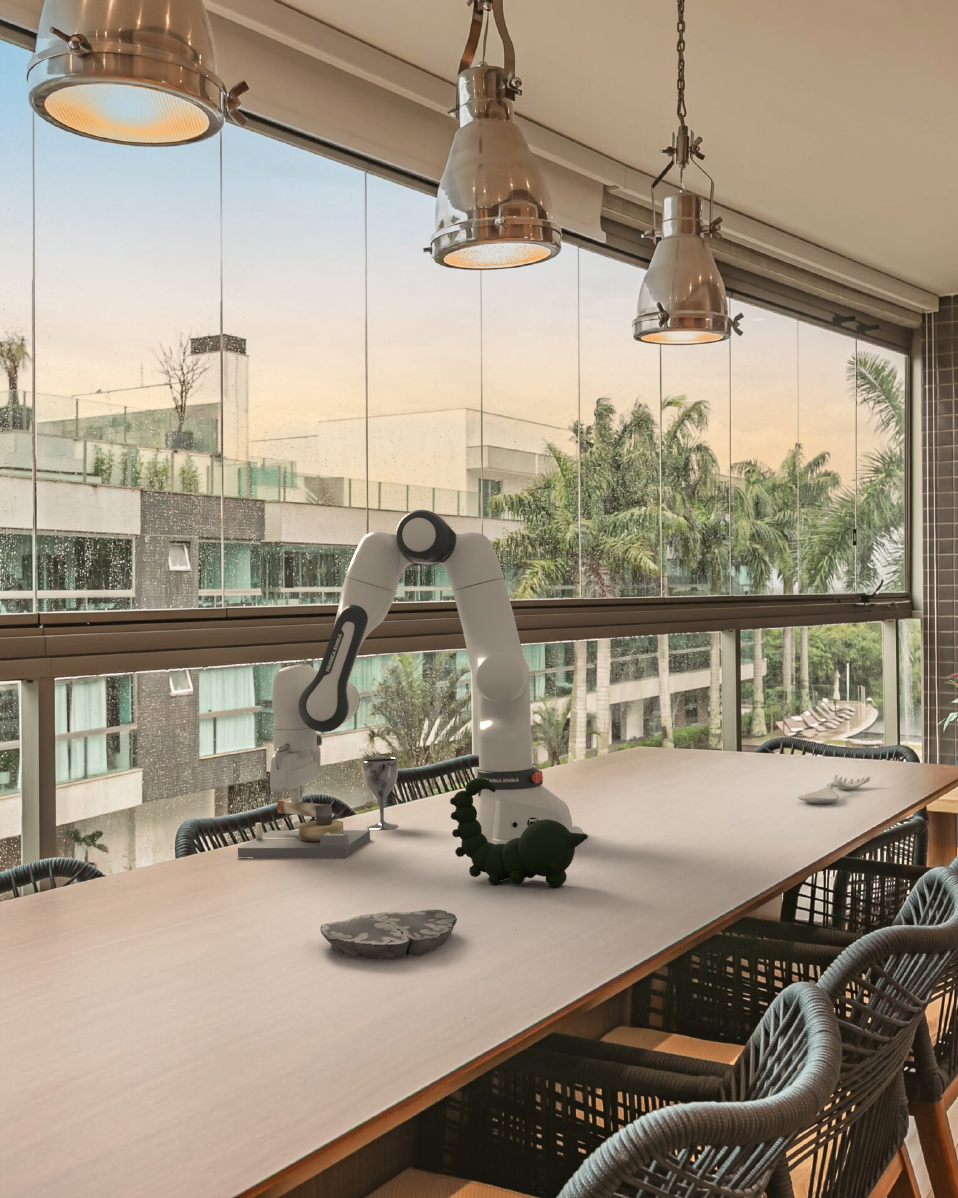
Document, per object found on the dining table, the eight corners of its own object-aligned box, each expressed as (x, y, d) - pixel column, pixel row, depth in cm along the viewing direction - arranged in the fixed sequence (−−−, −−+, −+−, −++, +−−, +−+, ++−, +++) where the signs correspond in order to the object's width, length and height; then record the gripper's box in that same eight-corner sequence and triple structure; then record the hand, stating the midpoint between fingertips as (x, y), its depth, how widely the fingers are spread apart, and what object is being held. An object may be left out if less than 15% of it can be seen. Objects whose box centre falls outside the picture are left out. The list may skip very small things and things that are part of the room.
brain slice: (345, 975, 147) (344, 952, 147) (310, 943, 163) (310, 922, 163) (483, 953, 155) (482, 931, 155) (437, 924, 170) (437, 904, 170)
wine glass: (394, 830, 246) (392, 761, 246) (359, 830, 248) (357, 762, 248) (404, 823, 254) (402, 757, 254) (370, 823, 255) (368, 757, 256)
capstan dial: (352, 835, 230) (351, 803, 230) (318, 842, 223) (317, 810, 223) (299, 827, 241) (298, 796, 242) (265, 834, 235) (264, 803, 235)
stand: (370, 839, 237) (369, 814, 237) (345, 858, 219) (344, 831, 219) (270, 840, 240) (269, 815, 240) (238, 858, 223) (237, 831, 223)
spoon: (872, 788, 280) (871, 774, 280) (830, 809, 254) (829, 794, 254) (835, 786, 285) (835, 773, 285) (790, 806, 259) (790, 791, 259)
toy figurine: (450, 893, 194) (582, 893, 182) (437, 783, 196) (567, 775, 183) (477, 881, 203) (605, 880, 191) (464, 776, 204) (591, 767, 192)
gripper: (290, 747, 227) (292, 816, 227) (324, 736, 247) (326, 799, 247) (261, 747, 228) (263, 816, 228) (297, 736, 248) (299, 799, 248)
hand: (296, 807), depth 238 cm, fingers closed
